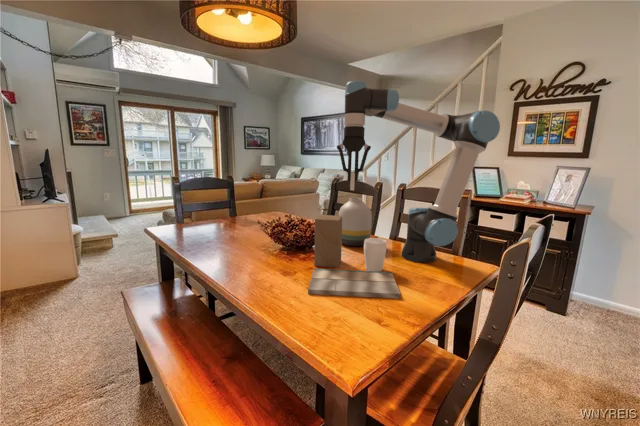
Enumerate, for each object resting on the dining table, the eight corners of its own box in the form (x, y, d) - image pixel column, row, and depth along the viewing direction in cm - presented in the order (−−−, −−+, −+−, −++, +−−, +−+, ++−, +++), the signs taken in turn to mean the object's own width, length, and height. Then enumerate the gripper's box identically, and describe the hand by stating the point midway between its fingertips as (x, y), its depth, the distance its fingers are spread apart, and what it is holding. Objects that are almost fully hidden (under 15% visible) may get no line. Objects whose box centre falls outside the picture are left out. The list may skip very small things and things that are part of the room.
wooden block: (337, 268, 125) (339, 220, 122) (314, 266, 127) (314, 219, 123) (341, 260, 135) (342, 215, 131) (319, 258, 137) (319, 214, 133)
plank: (391, 276, 117) (391, 271, 117) (395, 286, 109) (395, 281, 108) (313, 272, 120) (313, 268, 119) (311, 282, 111) (311, 277, 111)
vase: (331, 243, 160) (332, 198, 155) (350, 237, 172) (351, 195, 168) (358, 250, 149) (360, 201, 144) (376, 243, 161) (378, 198, 157)
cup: (386, 267, 127) (388, 239, 125) (383, 274, 119) (385, 245, 117) (365, 264, 130) (366, 236, 128) (360, 271, 122) (361, 242, 120)
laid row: (395, 286, 108) (395, 282, 108) (399, 298, 99) (400, 293, 99) (311, 282, 110) (311, 278, 110) (308, 293, 101) (308, 289, 101)
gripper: (371, 127, 116) (368, 189, 121) (337, 127, 117) (335, 188, 122) (373, 125, 109) (370, 191, 113) (336, 125, 110) (334, 190, 114)
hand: (352, 189), depth 117 cm, fingers closed
